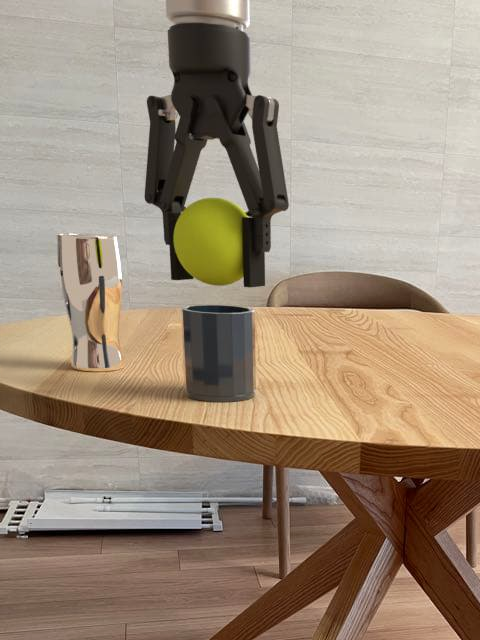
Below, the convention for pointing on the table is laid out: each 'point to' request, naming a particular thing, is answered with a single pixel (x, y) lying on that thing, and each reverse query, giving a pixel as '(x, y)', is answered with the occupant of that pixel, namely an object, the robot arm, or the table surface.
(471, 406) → the table surface
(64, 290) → the beer glass
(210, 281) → the ball
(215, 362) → the cup
